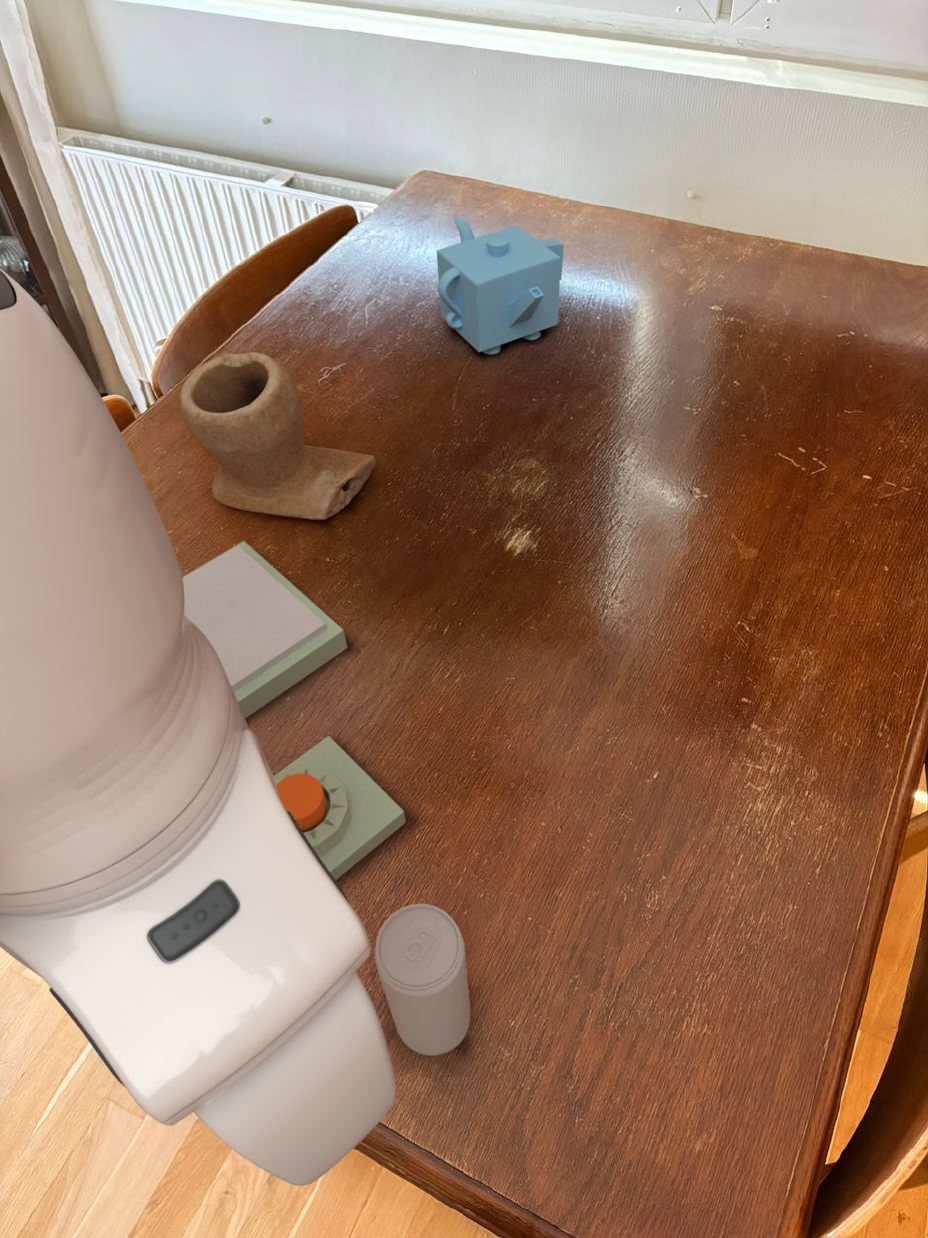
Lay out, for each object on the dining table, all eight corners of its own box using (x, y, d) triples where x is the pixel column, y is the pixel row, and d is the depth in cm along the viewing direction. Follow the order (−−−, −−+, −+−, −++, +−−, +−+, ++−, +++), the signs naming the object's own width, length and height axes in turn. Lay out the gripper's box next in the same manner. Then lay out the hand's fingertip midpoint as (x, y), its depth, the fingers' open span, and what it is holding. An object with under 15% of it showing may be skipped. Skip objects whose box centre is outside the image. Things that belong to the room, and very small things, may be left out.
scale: (196, 753, 70) (184, 730, 67) (104, 646, 77) (91, 622, 75) (347, 647, 76) (342, 623, 74) (249, 558, 84) (241, 534, 81)
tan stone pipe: (190, 523, 87) (142, 393, 76) (246, 448, 94) (209, 319, 83) (333, 553, 84) (305, 421, 72) (380, 472, 91) (360, 341, 80)
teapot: (478, 385, 100) (475, 291, 92) (406, 313, 111) (397, 223, 102) (596, 342, 105) (603, 249, 96) (515, 277, 115) (515, 188, 107)
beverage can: (379, 1028, 56) (354, 957, 47) (425, 963, 58) (409, 884, 49) (442, 1075, 54) (428, 1011, 45) (487, 1006, 56) (482, 932, 47)
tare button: (295, 842, 61) (290, 829, 60) (265, 808, 63) (260, 795, 62) (337, 809, 63) (333, 796, 61) (307, 776, 64) (302, 763, 63)
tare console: (282, 925, 60) (272, 903, 58) (211, 837, 65) (198, 813, 62) (406, 822, 65) (402, 798, 62) (332, 747, 70) (324, 721, 67)
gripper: (-129, 644, 30) (41, 838, 40) (182, 1182, 19) (302, 1253, 30) (49, 549, 32) (165, 754, 43) (410, 978, 22) (446, 1110, 32)
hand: (224, 962), depth 36 cm, fingers open, 8 cm apart
